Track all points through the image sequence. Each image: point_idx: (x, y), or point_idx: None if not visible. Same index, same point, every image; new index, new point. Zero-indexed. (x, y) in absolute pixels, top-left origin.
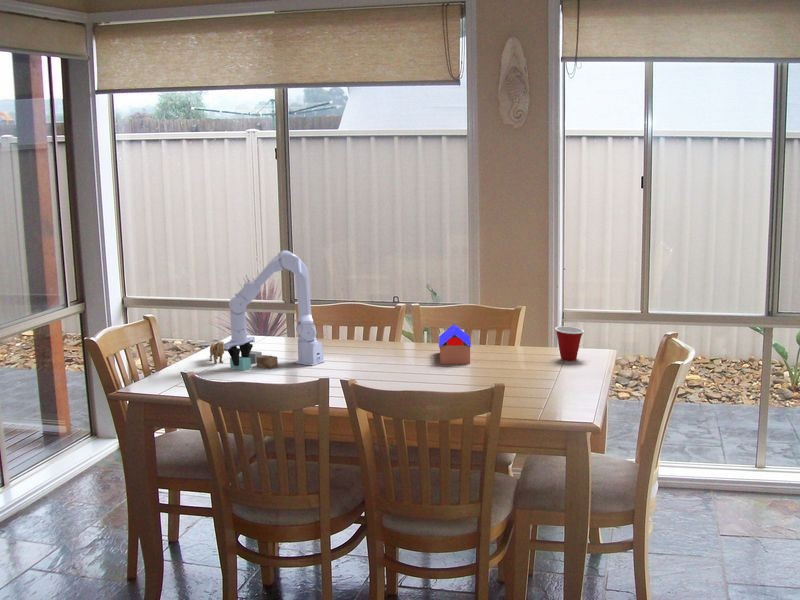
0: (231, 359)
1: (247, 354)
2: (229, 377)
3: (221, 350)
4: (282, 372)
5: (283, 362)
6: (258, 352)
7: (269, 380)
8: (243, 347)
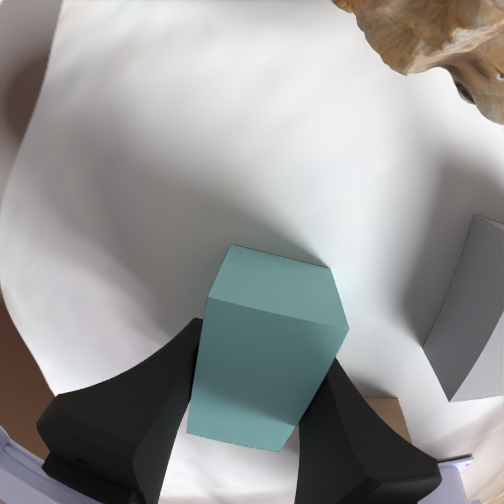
0: (205, 313)
1: (301, 454)
2: (56, 349)
3: (377, 35)
4: (251, 488)
5: (438, 435)
6: (498, 386)
7: None
8: (321, 495)
